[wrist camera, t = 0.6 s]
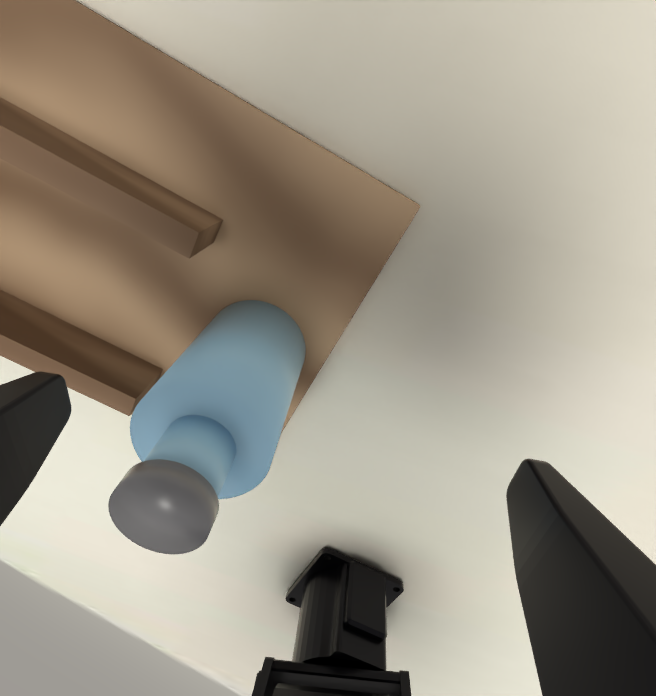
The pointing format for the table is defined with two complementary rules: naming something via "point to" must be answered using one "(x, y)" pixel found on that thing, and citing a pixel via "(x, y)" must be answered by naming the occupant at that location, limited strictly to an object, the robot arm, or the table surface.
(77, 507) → the table surface
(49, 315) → the rest
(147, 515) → the bottle
